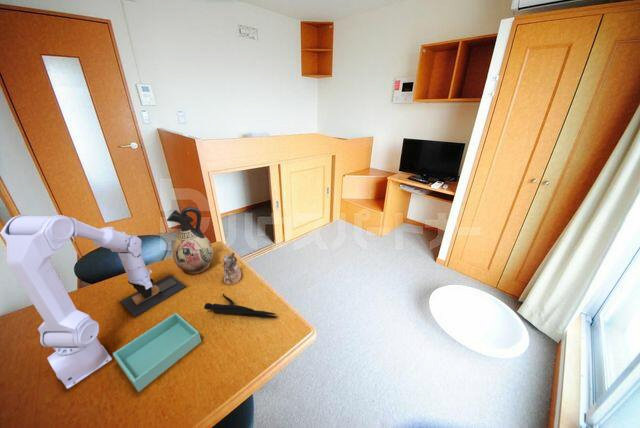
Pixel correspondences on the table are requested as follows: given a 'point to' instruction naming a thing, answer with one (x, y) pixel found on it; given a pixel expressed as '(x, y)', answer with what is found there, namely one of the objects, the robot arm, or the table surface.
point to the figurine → (231, 269)
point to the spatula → (155, 290)
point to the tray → (151, 298)
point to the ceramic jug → (191, 243)
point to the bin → (156, 350)
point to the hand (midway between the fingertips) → (146, 295)
